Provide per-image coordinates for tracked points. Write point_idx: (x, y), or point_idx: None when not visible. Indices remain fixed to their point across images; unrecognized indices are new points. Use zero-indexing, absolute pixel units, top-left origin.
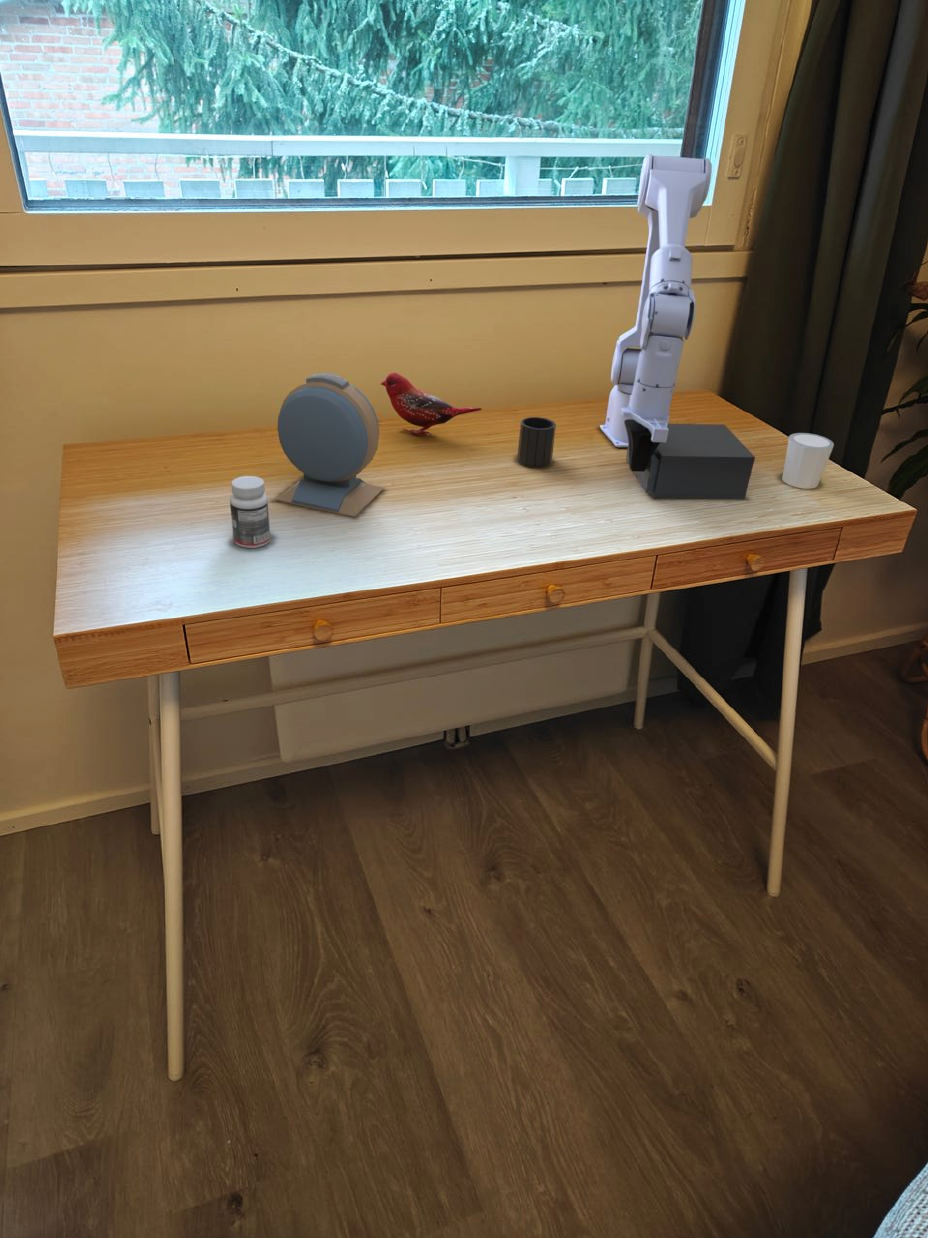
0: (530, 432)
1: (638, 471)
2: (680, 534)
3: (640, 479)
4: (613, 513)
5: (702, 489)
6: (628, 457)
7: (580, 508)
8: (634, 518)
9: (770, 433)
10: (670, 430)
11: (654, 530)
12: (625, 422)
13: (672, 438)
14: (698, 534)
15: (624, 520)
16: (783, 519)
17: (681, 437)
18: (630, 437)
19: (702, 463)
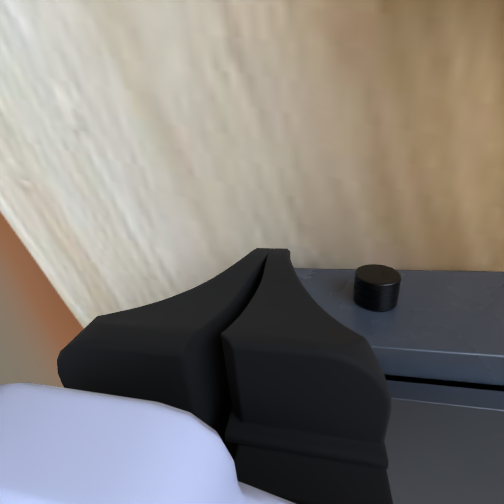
0: None
1: (342, 279)
2: (74, 281)
3: (308, 272)
4: (125, 146)
5: None
6: (495, 280)
7: (127, 29)
8: (114, 201)
9: None
10: (494, 502)
11: (71, 233)
12: (284, 349)
13: (388, 472)
14: (87, 313)
15: (94, 171)
16: None
17: (397, 499)
18: (214, 306)
19: None
